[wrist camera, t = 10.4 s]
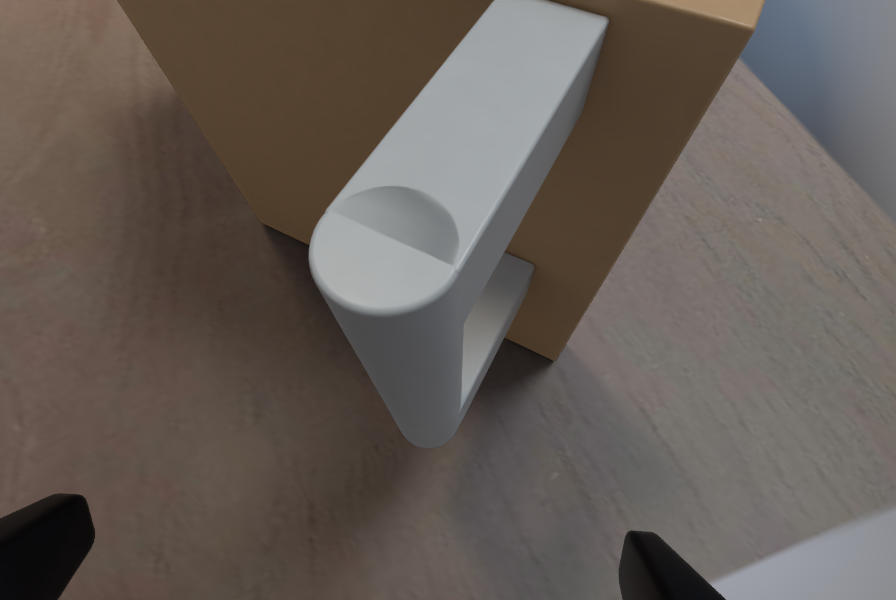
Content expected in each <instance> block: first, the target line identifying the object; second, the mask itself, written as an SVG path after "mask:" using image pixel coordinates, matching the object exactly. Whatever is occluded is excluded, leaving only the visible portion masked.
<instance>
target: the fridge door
mask: <svg viewBox="0 0 896 600" xmlns="http://www.w3.org/2000/svg"><path fill="white" fill-rule="evenodd" d="M117 1H118V2H119V4H120V5H121V7H122V9H123V10H124V12H125V13H126V15H127V16H128V18H129V19H130V21H131V23H132V24H133V26H134V27H135V29H136V30H137V32H138V33H139V35H140V36H141V38H142V40H143V41H144V43H145V44H146V46H147V47H148V49H149V50H150V52H151V54H152V55H153V57H154V58H155V60H156V61H157V63H158V64H159V66H160V68H161V69H162V71H163V72H164V74H165V75H166V77H167V78H168V80H169V82H170V83H171V85H172V86H173V88H174V89H175V91H176V92H177V94H178V95H179V97H180V99H181V100H182V102H183V103H184V105H185V106H186V108H187V109H188V111H189V113H190V114H191V116H192V117H193V119H194V120H195V122H196V123H197V125H198V127H199V128H200V130H201V131H202V133H203V134H204V136H205V137H206V139H207V141H208V142H209V144H210V145H211V147H212V148H213V150H214V151H215V153H216V154H217V156H218V158H219V159H220V161H221V162H222V164H223V165H224V167H225V168H226V170H227V172H228V173H229V175H230V176H231V178H232V179H233V181H234V182H235V184H236V186H237V187H238V189H239V190H240V192H241V193H242V195H243V196H244V198H245V200H246V201H247V203H248V204H249V206H250V207H251V209H252V210H253V212H254V213H255V215H256V217H257V218H258V220H259V221H260V222H261V223H263V224H265V225H267V226H269V227H272V228H274V229H276V230H278V231H280V232H282V233H284V234H286V235H289V236H291V237H293V238H295V239H297V240H299V241H301V242H303V243H305V244H308V245H310V247H309V267H310V271H311V274H312V277H313V279H314V281H315V284H316V285H317V287H318V289H319V291H320V292H321V294H322V296H323V297H324V299H325V301H326V303H327V304H328V306H329V308H330V310H331V311H332V313H333V315H334V316H335V318H336V320H337V322H338V323H339V325H340V327H341V329H342V330H343V332H344V334H345V335H346V337H347V339H348V341H349V342H350V344H351V346H352V348H353V349H354V351H355V353H356V354H357V356H358V358H359V360H360V361H361V363H362V365H363V367H364V368H365V370H366V372H367V373H368V375H369V377H370V379H371V380H372V382H373V384H374V386H375V387H376V389H377V391H378V392H379V394H380V396H381V398H382V399H383V401H384V403H385V405H386V406H387V408H388V410H389V411H390V413H391V415H392V417H393V418H394V420H395V422H396V424H397V425H398V427H399V429H400V430H401V432H402V434H403V435H404V437H405V438H406V439H407V440H408V441H409V442H410V443H412V444H413V445H415V446H417V447H421V448H429V449H430V448H436V447H439V446H442V445H444V444H446V443H447V442H448V441H450V440H451V439H452V437H453V436H454V435H455V433H456V432H457V430H458V428H459V426H460V424H461V422H462V420H463V418H464V416H465V414H466V412H467V410H468V408H469V406H470V404H471V402H472V400H473V398H474V396H475V394H476V392H477V390H478V388H479V386H480V384H481V383H482V381H483V379H484V377H485V375H486V373H487V371H488V369H489V367H490V365H491V363H492V361H493V359H494V357H495V355H496V353H497V351H498V349H499V347H500V345H501V343H502V341H503V339H504V338H507V339H509V340H511V341H513V342H515V343H517V344H519V345H521V346H523V347H526V348H528V349H530V350H532V351H534V352H536V353H538V354H540V355H543V356H545V357H547V358H549V359H551V360H553V361H556V360H557V358H558V357H559V355H560V353H561V352H562V350H563V348H564V347H565V345H566V343H567V342H568V340H569V338H570V337H571V335H572V333H573V332H574V330H575V328H576V327H577V325H578V323H579V322H580V320H581V318H582V317H583V315H584V313H585V312H586V310H587V308H588V307H589V305H590V303H591V302H592V300H593V298H594V297H595V295H596V293H597V292H598V290H599V288H600V287H601V285H602V283H603V282H604V280H605V278H606V277H607V275H608V273H609V272H610V270H611V268H612V267H613V265H614V263H615V262H616V260H617V259H618V257H619V255H620V254H621V252H622V250H623V249H624V247H625V245H626V244H627V242H628V240H629V239H630V237H631V235H632V234H633V232H634V230H635V229H636V227H637V225H638V224H639V222H640V220H641V219H642V217H643V215H644V214H645V212H646V210H647V209H648V207H649V205H650V204H651V202H652V200H653V199H654V197H655V195H656V194H657V192H658V190H659V189H660V187H661V185H662V184H663V182H664V180H665V179H666V177H667V175H668V174H669V172H670V170H671V169H672V167H673V165H674V164H675V162H676V161H677V159H678V157H679V156H680V154H681V152H682V151H683V149H684V147H685V146H686V144H687V142H688V141H689V139H690V137H691V136H692V134H693V132H694V131H695V129H696V127H697V126H698V124H699V122H700V121H701V119H702V117H703V116H704V114H705V112H706V111H707V109H708V107H709V106H710V104H711V102H712V101H713V99H714V97H715V96H716V94H717V92H718V91H719V89H720V87H721V86H722V84H723V82H724V81H725V79H726V77H727V76H728V74H729V72H730V71H731V69H732V67H733V66H734V64H735V62H736V61H737V59H738V58H739V56H740V54H741V53H742V51H743V49H744V48H745V46H746V44H747V43H748V41H749V39H750V37H751V36H752V34H753V33H754V31H755V28H756V25H757V22H758V20H759V17H760V14H761V11H762V9H763V6H764V3H765V0H117Z"/></svg>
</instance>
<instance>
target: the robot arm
mask: <svg viewBox="0 0 896 600" xmlns="http://www.w3.org/2000/svg"><path fill="white" fill-rule="evenodd" d="M94 539H95V529H94V525H93V522H92V518H91V514H90V511H89V507H88V504H87V501H86V499H85V498H84V497H83V496H82V495H78V494H63V493H60V494H54V495H51V496H48V497H46V498H44V499H42V500H40V501H38V502H35V503H33V504H31V505H29V506H27V507H24V508H22V509H20V510H18V511H16V512H13V513H11V514H9V515H7V516H5V517H2V518H0V600H58V599H59V597H60V596H61V594H62V592H63V591H64V589H65V588H66V586H67V585H68V583H69V582H70V580H71V579H72V577H73V575H74V574H75V572H76V571H77V569H78V568H79V566H80V565H81V563H82V562H83V560H84V559H85V557H86V555H87V554H88V552H89V551H90V549H91V547H92V545H93V543H94ZM619 584H620V589H621V594H622V599H623V600H726V599H725V598H724V597H722V595H721V594H719V593H718V592H717V591H716V590H715V589H714V588H713V587H712V586H711V585H710V584H709V583H708V582H707V581H706V580H705V579H704V578H703V577H701V576H700V575H699V574H698V573H697V572H696V571H695V570H694V569H693V568H692V567H691V566H690V565H689V564H688V563H687V562H686V561H685V560H683V559H682V558H681V557H680V556H679V555H678V554H677V553H676V552H675V551H674V550H673V549H672V548H671V547H670V546H669V545H668V544H667V543H665V542H664V541H663V540H662V539H661V538H660V537H659V536H658V535H657V534H655V533H653V532H646V531H629V532H627V534H626V536H625V540H624V545H623V550H622V555H621V560H620V565H619Z"/></svg>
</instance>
